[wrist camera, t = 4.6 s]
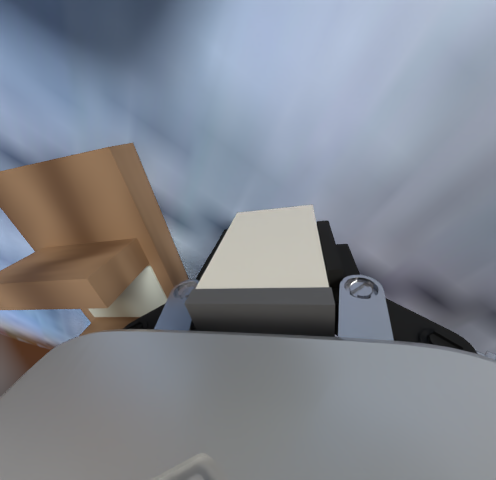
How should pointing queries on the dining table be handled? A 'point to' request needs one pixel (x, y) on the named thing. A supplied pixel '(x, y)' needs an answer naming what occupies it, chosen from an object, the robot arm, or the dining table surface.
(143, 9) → the dining table surface
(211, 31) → the dining table surface
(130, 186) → the notched board
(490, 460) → the robot arm
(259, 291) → the white rectangular block
